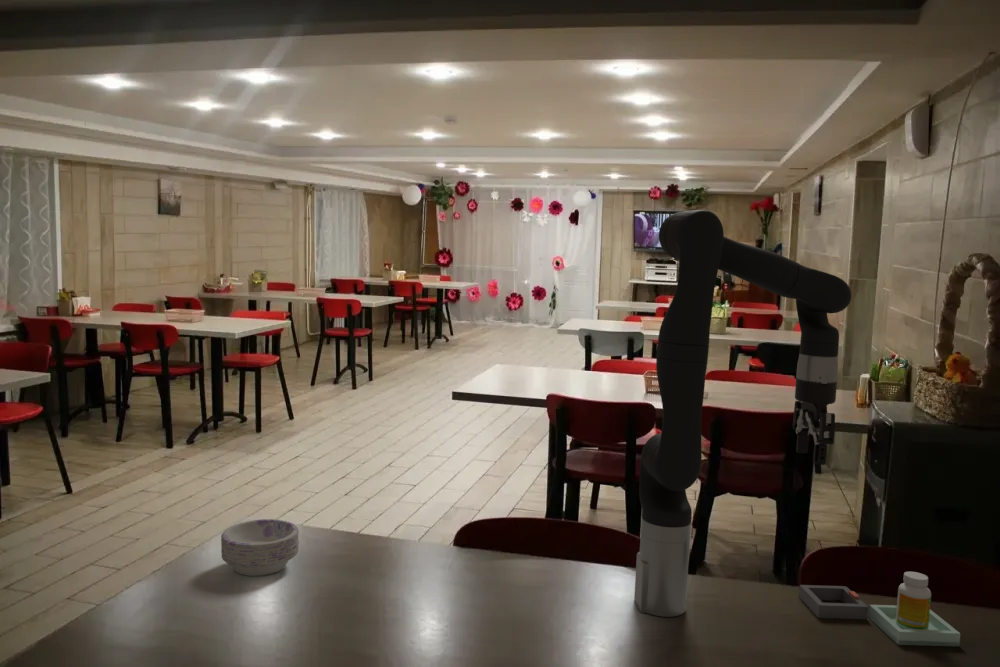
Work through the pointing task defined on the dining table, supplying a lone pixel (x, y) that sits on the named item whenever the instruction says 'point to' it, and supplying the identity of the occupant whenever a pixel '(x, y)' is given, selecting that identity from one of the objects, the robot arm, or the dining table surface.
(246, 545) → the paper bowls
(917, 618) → the supplement bottle
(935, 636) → the tray
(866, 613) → the socket collar
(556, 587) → the dining table surface
